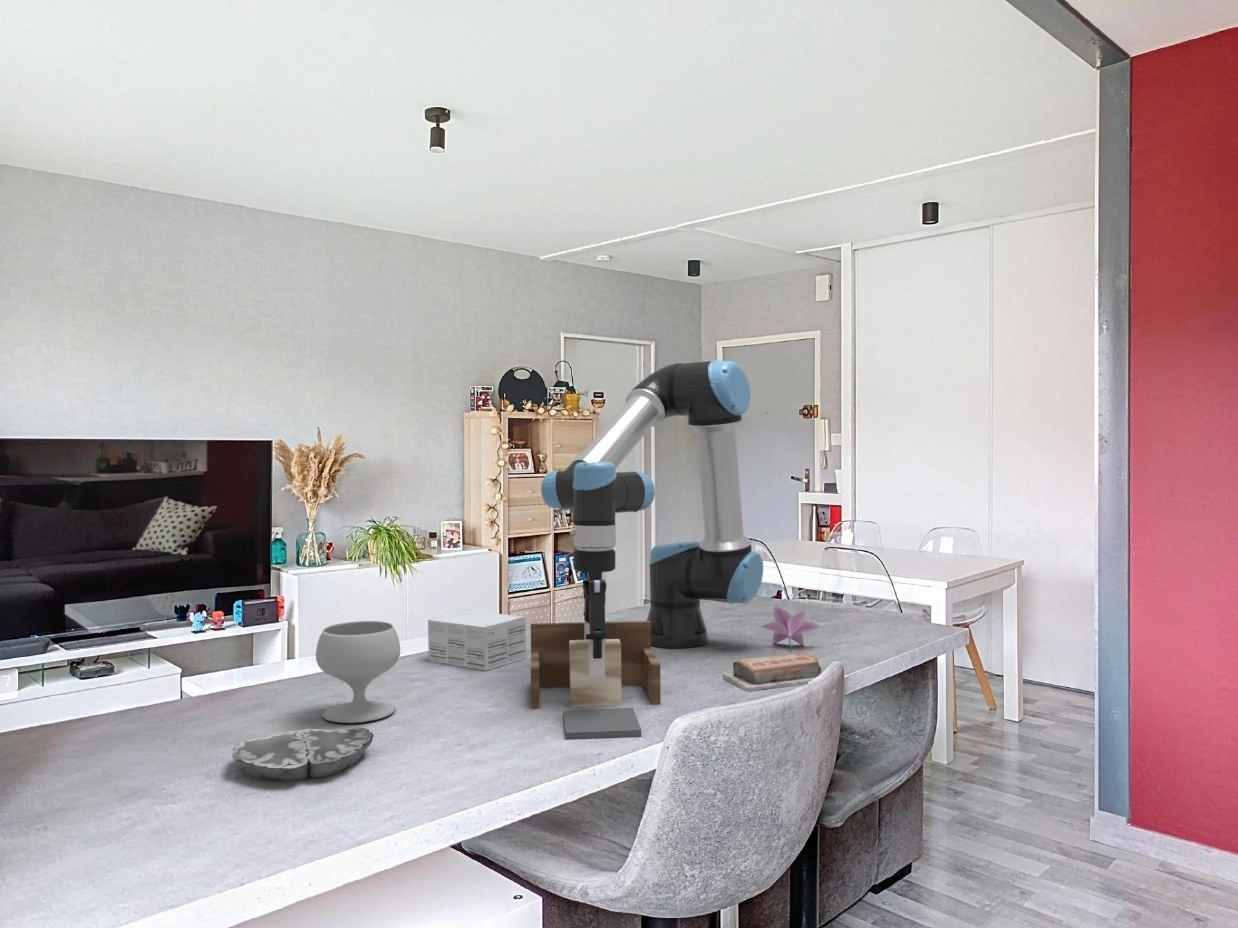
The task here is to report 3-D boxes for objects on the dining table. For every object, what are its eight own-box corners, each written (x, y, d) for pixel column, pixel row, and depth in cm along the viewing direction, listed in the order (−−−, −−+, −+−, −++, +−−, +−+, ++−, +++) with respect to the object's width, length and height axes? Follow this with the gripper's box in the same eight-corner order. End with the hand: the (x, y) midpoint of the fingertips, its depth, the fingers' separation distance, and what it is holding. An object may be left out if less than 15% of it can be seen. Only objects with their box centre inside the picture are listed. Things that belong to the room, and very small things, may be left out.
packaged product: (799, 648, 182) (828, 659, 173) (799, 671, 182) (828, 684, 173) (721, 656, 175) (747, 668, 166) (721, 681, 175) (747, 694, 166)
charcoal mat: (563, 715, 152) (563, 709, 152) (632, 713, 153) (632, 707, 153) (565, 738, 140) (565, 732, 140) (641, 736, 141) (641, 729, 141)
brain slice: (232, 799, 118) (232, 776, 118) (232, 757, 133) (232, 738, 133) (384, 776, 126) (384, 755, 125) (367, 739, 141) (367, 721, 141)
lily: (828, 654, 199) (822, 613, 204) (804, 642, 191) (799, 599, 196) (780, 664, 206) (776, 624, 210) (755, 652, 197) (751, 611, 202)
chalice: (324, 731, 144) (322, 639, 144) (310, 709, 157) (309, 624, 156) (409, 719, 151) (408, 631, 150) (390, 698, 163) (389, 616, 163)
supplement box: (527, 659, 193) (527, 616, 193) (486, 672, 182) (485, 626, 182) (469, 649, 202) (469, 608, 202) (427, 661, 191) (426, 618, 191)
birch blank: (569, 700, 161) (569, 640, 161) (619, 698, 162) (618, 638, 162) (570, 707, 157) (570, 645, 157) (621, 705, 158) (621, 643, 158)
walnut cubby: (531, 685, 171) (530, 623, 171) (649, 681, 173) (649, 620, 173) (530, 708, 156) (530, 640, 156) (660, 703, 159) (660, 636, 158)
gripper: (570, 541, 171) (570, 651, 171) (576, 556, 146) (576, 685, 146) (609, 541, 172) (609, 650, 172) (622, 556, 147) (621, 684, 147)
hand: (594, 667), depth 159 cm, fingers open, 13 cm apart
